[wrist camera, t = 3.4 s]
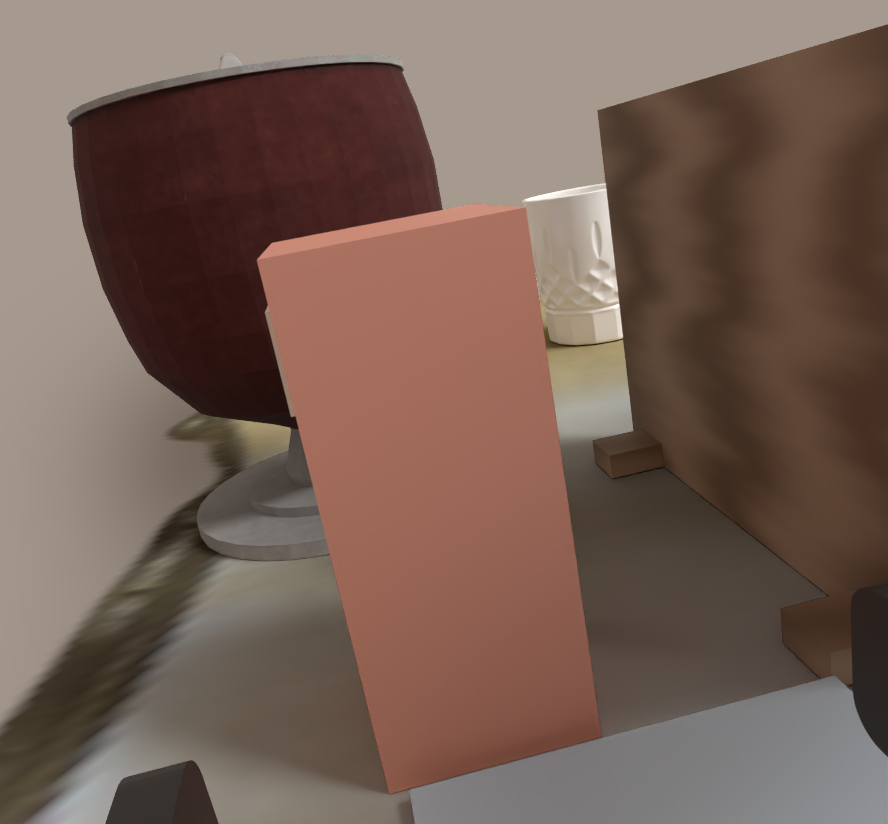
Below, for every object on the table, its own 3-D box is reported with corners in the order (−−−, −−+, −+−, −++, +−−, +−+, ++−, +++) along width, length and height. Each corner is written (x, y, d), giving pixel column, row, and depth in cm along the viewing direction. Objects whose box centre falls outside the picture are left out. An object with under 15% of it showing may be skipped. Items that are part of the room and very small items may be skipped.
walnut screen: (587, 454, 34) (543, 120, 30) (715, 425, 35) (689, 93, 31) (860, 717, 17) (844, 23, 13) (1104, 650, 18) (1162, -34, 13)
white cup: (662, 315, 57) (648, 175, 54) (642, 344, 50) (625, 186, 47) (559, 324, 61) (541, 193, 58) (527, 352, 54) (505, 205, 51)
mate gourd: (532, 508, 30) (440, -73, 24) (166, 610, 27) (-37, -11, 22) (438, 410, 45) (366, 33, 39) (193, 470, 42) (77, 76, 36)
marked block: (541, 622, 23) (473, 203, 19) (601, 737, 18) (525, 207, 14) (366, 667, 22) (263, 244, 19) (380, 796, 17) (246, 262, 14)
